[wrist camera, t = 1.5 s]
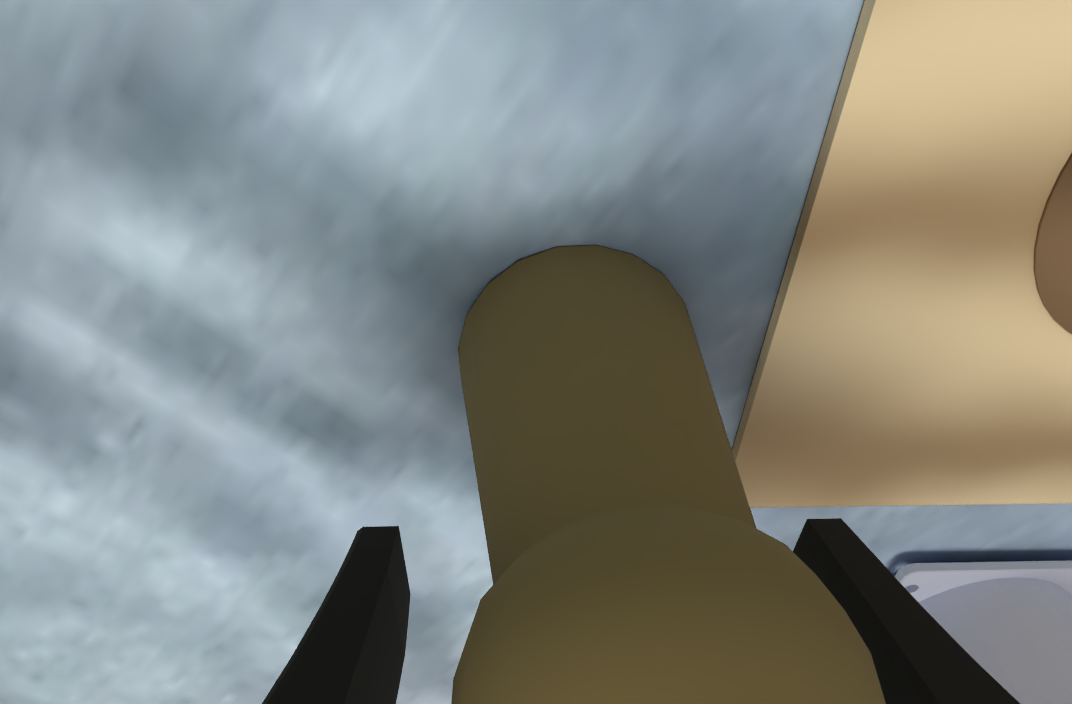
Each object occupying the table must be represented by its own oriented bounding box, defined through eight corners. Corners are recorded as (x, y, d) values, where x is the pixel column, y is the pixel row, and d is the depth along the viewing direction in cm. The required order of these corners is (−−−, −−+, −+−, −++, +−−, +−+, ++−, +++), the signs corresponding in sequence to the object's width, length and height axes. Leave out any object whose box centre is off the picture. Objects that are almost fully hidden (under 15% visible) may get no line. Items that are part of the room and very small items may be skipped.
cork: (576, 488, 18) (670, 1032, 8) (408, 367, 16) (270, 911, 6) (741, 348, 16) (1107, 842, 6) (575, 190, 14) (752, 574, 4)
